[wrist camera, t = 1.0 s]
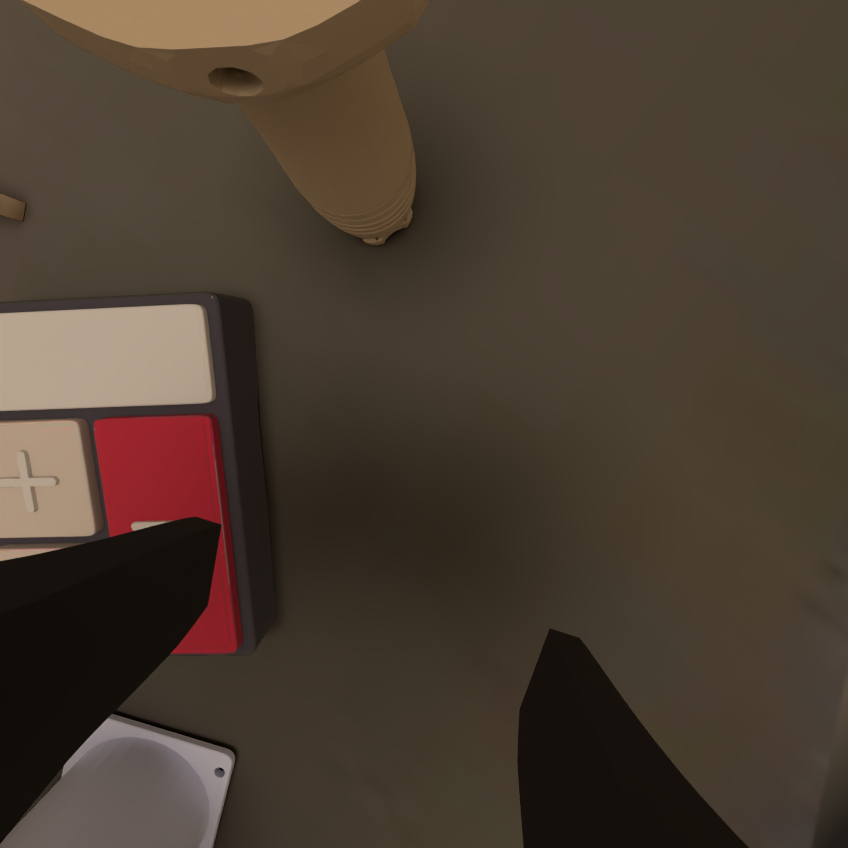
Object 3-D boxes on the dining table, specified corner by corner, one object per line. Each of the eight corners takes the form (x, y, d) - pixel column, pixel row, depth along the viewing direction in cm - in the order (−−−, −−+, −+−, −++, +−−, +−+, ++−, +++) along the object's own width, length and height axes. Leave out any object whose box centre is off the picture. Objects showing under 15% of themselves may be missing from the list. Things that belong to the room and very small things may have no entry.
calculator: (-7, 670, 21) (-82, 303, 19) (69, 614, 25) (17, 309, 23) (249, 668, 21) (207, 288, 18) (284, 612, 25) (253, 297, 22)
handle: (299, 150, 21) (-66, -357, 6) (452, 144, 21) (449, -411, 6) (303, 269, 22) (-21, 59, 7) (453, 264, 21) (452, 35, 6)
